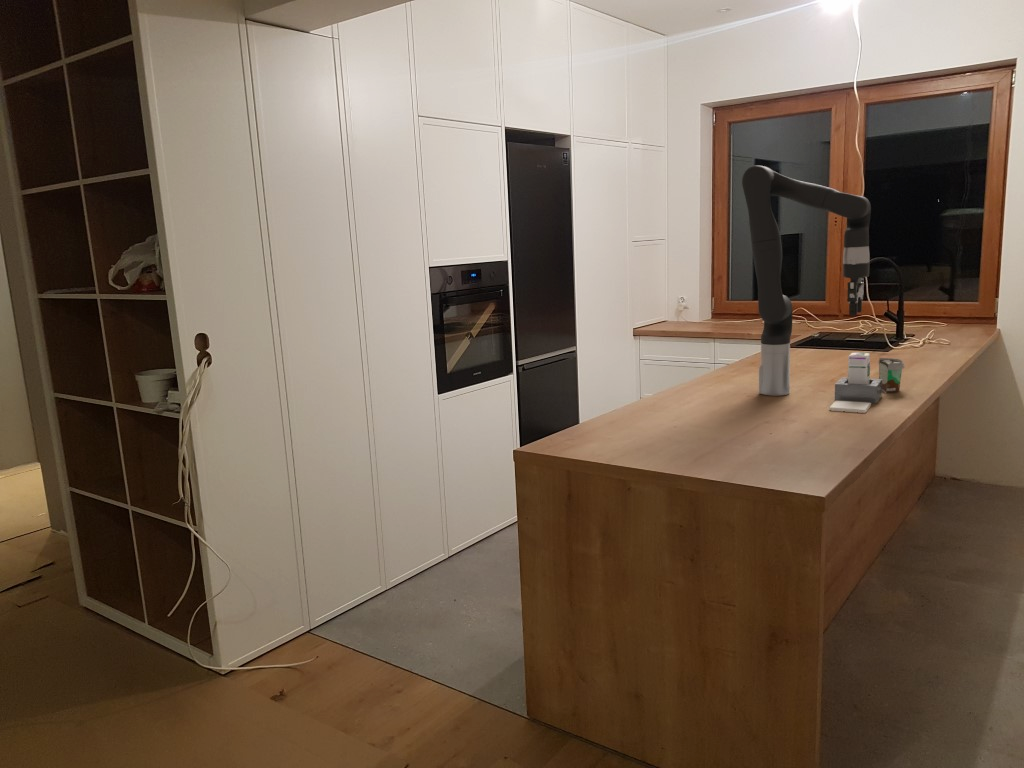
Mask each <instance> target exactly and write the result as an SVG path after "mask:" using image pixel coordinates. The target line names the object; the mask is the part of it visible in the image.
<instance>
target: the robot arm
mask: <svg viewBox="0 0 1024 768" xmlns="http://www.w3.org/2000/svg"><path fill="white" fill-rule="evenodd" d="M741 186H742V189H743V194H744V197H745V198H744V199H745V202H746V203H745V204H746V207H747V211H748V222H749V225H748V226H749V235H750V242H751V252H752V256H753V264H754V271H755V275H756V281H757V282H756V283H757V290H758V291H757V297H758V298H757V300H758V301H757V304H758V305H757V307H758V309H757V310H758V314H759V316H760V318H761V320H763V331H762V333H761V335H760V365H759V366H758V394H760V395H765V396H775V397H776V396H787V395H789V394H790V389H791V388H790V387H791V385H790V383H791V382H790V381H791V379H790V378H791V377H790V376H791V373H790V372H791V371H790V367H791V366H790V365H791V336H792V331H793V315H794V314H793V313H794V310H793V304H792V301H791V299H790V298H789V297H788V295H784V294H783V291H782V290H783V289H782V284H781V273H782V265H783V263H782V262H783V246H782V245H783V244H782V239H781V238H782V237H781V233H780V229H779V225H778V222H777V221H776V218H775V214H774V213H773V210H772V209H773V208H772V204H771V203H772V202H771V196H772V197H773V196H774V197H780V198H785V199H787V200H790V201H793V202H796V203H799V204H801V205H804V206H807V207H810V208H813V209H816V210H820V211H824V212H830V213H833V214H834V215H836V216H837V215H838V216H840V217H843V218H846V228H845V230H844V235H843V236H844V237H843V239H844V240H843V253H842V254H843V255H842V277H843V278H845V279H850V280H849V282H847V299H846V301H847V303H848V307H849V308H848V310H849V311H848V314H849V316H854V317H855V316H857V315H858V313H862V311H863V301H864V297H865V295H864V289H865V288H864V287H865V285H864V282H865V280H864V278H867V277H868V278H869V276H870V258H871V257H870V235H869V234H870V233H869V229H870V221H871V213H872V211H871V210H872V207H871V206H872V205H871V202H870V201H869V199H868V198H867V197H865V196H861V195H856V194H851V193H846V192H842V191H839V190H838V189H835V188H831V187H827V186H824V185H820V184H817V183H811V182H806V181H801V180H798V179H794V178H791V177H788V176H785V175H783V174H780V172H779V173H778V172H776V171H775V170H773V169H771V168H770V167H768V166H765V165H764V166H763V165H758V164H757V165H752V166H750V167H748V168H747V169H746V170H745V171H744V173H743V175H742V179H741Z"/></svg>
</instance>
